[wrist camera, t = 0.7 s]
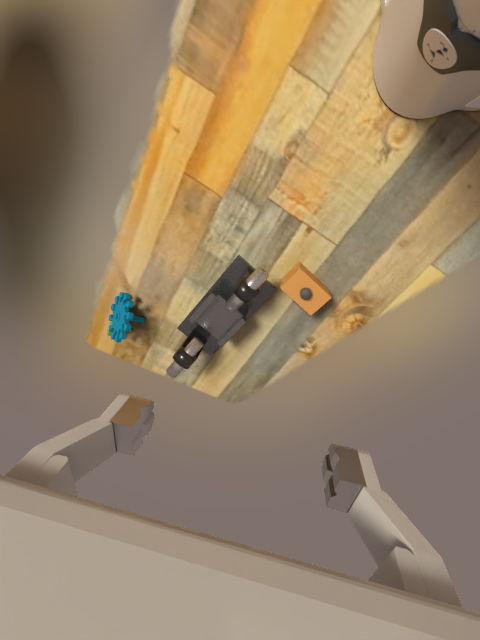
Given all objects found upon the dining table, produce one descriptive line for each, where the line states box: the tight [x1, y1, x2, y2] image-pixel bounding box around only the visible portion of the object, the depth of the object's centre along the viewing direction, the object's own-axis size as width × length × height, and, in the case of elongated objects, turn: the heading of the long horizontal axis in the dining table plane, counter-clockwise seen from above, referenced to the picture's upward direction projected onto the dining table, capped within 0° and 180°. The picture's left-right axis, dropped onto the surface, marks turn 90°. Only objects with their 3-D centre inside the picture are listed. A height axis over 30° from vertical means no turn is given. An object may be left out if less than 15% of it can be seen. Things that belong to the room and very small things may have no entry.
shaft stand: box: [166, 255, 276, 378], centre depth 45 cm, size 25×9×11 cm, turn 140°
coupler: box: [280, 262, 332, 315], centre depth 43 cm, size 7×4×6 cm, turn 50°
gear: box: [107, 292, 145, 342], centre depth 53 cm, size 11×6×10 cm
